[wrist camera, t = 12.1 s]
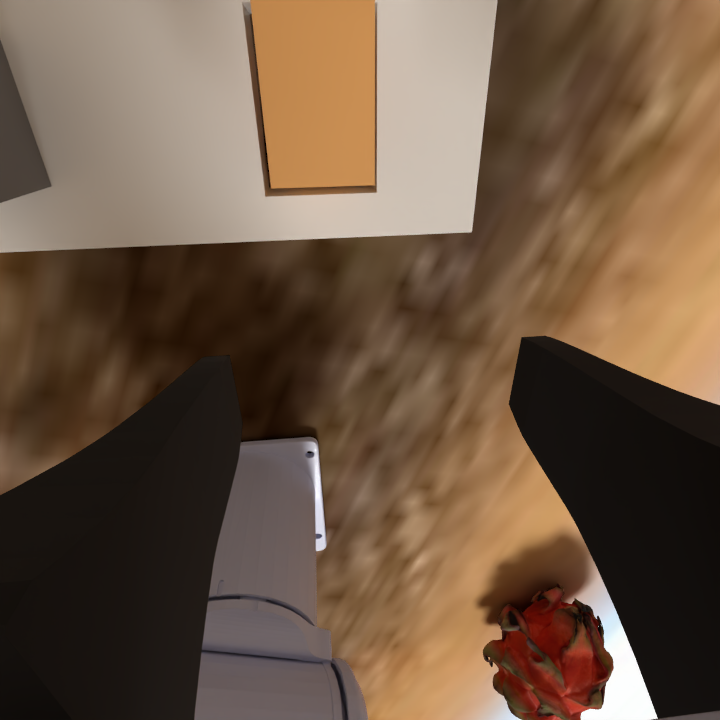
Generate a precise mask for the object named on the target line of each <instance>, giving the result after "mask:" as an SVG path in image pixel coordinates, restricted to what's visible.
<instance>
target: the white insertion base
mask: <svg viewBox="0 0 720 720" xmlns="http://www.w3.org/2000/svg"><path fill="white" fill-rule="evenodd" d="M496 9H497V0H375V185H366V186H335V187H304V188H273V189H271V188H270V187H269V179H268V170H267V161H266V152H265V144H264V135H263V126H262V117H261V109H260V100H259V91H258V82H257V74H256V65H255V56H254V47H253V39H252V30H251V21H250V14H252V12H251V3H250V0H0V252H23V251H46V250H69V249H92V248H115V247H139V246H162V245H185V244H208V243H231V242H254V241H277V240H301V239H324V238H347V237H370V236H393V235H416V234H439V233H462V232H472V226H473V217H474V208H475V198H476V189H477V180H478V171H479V162H480V153H481V144H482V135H483V126H484V117H485V108H486V99H487V90H488V81H489V72H490V63H491V54H492V45H493V36H494V27H495V18H496Z"/></svg>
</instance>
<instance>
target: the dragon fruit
mask: <svg viewBox="0 0 720 720" xmlns="http://www.w3.org/2000/svg"><path fill="white" fill-rule="evenodd" d="M547 590H548V589H547ZM563 594H564V591H563V587H562V586H560V585H558V584H557V586H556V587H555V588H553V589H551V590H550V588H549V591H547V592H546V590H545V592H544V591H539V592H537V594H536V595H534V596H533V598H532V600H531V602H533V604H532V605H531V606H529V607H528V608H527V609H526V610H525V611H524V612H521V611H520V610H519V609H517V610H516V609H515V608H514V607H512V606H511V605H509V604H507V605H506V606H505V607H504V609H503V610H502V612H501V613H500V615H499V617H498V619H499V620H498V623H499V625H500V626H501V630H502V639H501V640H492V641H490V642H489V643H488V644H487V645H486V646H485V647H484V649H483V656H484V660H485V661H487V662H489V663H490V665H491V667H492V666H493V662H494V663H495V664H496V665H497V667H498V668H499V671H498V672H497V673H496V674H495V675H494V677H493V687H494V689H495V690H496V691H497V692H498V693H499V694H501V695H503V696H504V698H505V699H506V701H507V704H508V707H509V709H510V711H511V713H512V714H513V715H515V716H516V717H518V718H519V719H522V720H581V719H580V716H581V713H582V712H583V711H585V710H588V709H601V708H602V705H603V702H604V694H605V686H606V682H607V681H608V680H609V677H610V676H611V673H612V671H613V668H614V667H613V659H612V657H611V655H610V654H609V652H607V651H606V650H605V648H604V637H603V635H604V630H603V626H602V627H601V625H602V623H601V620H600V618H599V616H597V619H596V618H595V617H594V615H593V610H592V609H591V607H590V606H588V605H585V604H583V603H581V602H579V601H578V600H577V599H575V601H573V603H572V604H568V603H565V602H561V598H562V596H563ZM531 602H530V603H531ZM598 626H599V627H598ZM488 657H490V660H489V659H488Z"/></svg>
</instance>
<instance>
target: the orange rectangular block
mask: <svg viewBox="0 0 720 720" xmlns="http://www.w3.org/2000/svg"><path fill="white" fill-rule="evenodd" d="M250 3H251V12H252V21H253V30H254V39H255V48H256V57H257V66H258V75H259V84H260V93H261V102H262V111H263V120H264V129H265V138H266V147H267V156H268V165H269V174H270V183H271V189H273V188H304V187H335V186H366V185H375V0H250Z"/></svg>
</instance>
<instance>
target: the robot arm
mask: <svg viewBox="0 0 720 720" xmlns="http://www.w3.org/2000/svg"><path fill="white" fill-rule="evenodd" d="M509 405H510V408H511V410H512V413H513V415H514V418H515V420H516V423H517V425H518V427H519V429H520V432H521V434H522V436H523V438H524V439H525V441H526V443H527V445H528V446H529V448H530V449H531V451H532V453H533V454H534V456H535V458H536V459H537V461H538V463H539V464H540V466H541V467H542V469H543V471H544V472H545V474H546V475H547V477H548V479H549V480H550V482H551V483H552V485H553V487H554V488H555V490H556V491H557V493H558V495H559V496H560V498H561V499H562V501H563V503H564V504H565V506H566V507H567V509H568V511H569V513H570V514H571V516H572V518H573V520H574V521H575V523H576V525H577V527H578V529H579V531H580V533H581V535H582V537H583V539H584V541H585V543H586V545H587V547H588V550H589V552H590V554H591V556H592V558H593V560H594V562H595V564H596V566H597V569H598V571H599V573H600V575H601V577H602V580H603V582H604V584H605V586H606V589H607V591H608V593H609V595H610V598H611V600H612V602H613V604H614V607H615V609H616V611H617V614H618V616H619V619H620V621H621V624H622V626H623V629H624V631H625V633H626V636H627V638H628V641H629V643H630V646H631V648H632V651H633V653H634V655H635V658H636V661H637V663H638V666H639V669H640V671H641V674H642V677H643V679H644V682H645V685H646V688H647V690H648V693H649V696H650V698H651V701H652V704H653V706H654V709H655V712H656V714H657V717H658V719H653V720H720V405H717V404H714V403H711V402H708V401H705V400H702V399H699V398H696V397H693V396H690V395H687V394H684V393H682V392H679V391H676V390H674V389H671V388H669V387H666V386H664V385H661V384H659V383H656V382H654V381H651V380H649V379H646V378H644V377H641V376H639V375H637V374H634V373H632V372H630V371H627V370H625V369H623V368H620V367H618V366H616V365H614V364H611V363H609V362H607V361H605V360H603V359H600V358H598V357H596V356H594V355H592V354H589V353H587V352H585V351H583V350H580V349H578V348H576V347H574V346H571V345H569V344H567V343H564V342H562V341H559V340H556V339H554V338H551V337H547V336H536V337H522V338H521V344H520V349H519V354H518V359H517V364H516V369H515V374H514V380H513V385H512V390H511V395H510V400H509ZM242 424H243V422H242V417H241V412H240V407H239V402H238V397H237V392H236V386H235V381H234V376H233V371H232V366H231V361H230V356H229V355H226V356H210V357H203V358H201V359H200V360H198V361H197V362H196V363H195V364H194V365H192V366H191V367H190V368H189V369H188V370H186V371H185V372H184V373H183V374H182V375H181V376H180V377H178V378H177V379H176V380H175V381H174V382H173V383H171V384H170V385H169V386H168V387H167V388H165V389H164V390H163V391H162V392H161V393H160V394H158V395H157V396H156V397H155V398H154V399H152V400H151V401H150V402H149V403H147V404H146V405H145V406H143V407H142V408H141V409H139V410H138V411H137V412H136V413H134V414H133V415H132V416H130V417H129V418H128V419H126V420H125V421H124V422H122V423H121V424H120V425H119V426H117V427H116V428H114V429H113V430H112V431H110V432H109V433H107V434H106V435H104V436H103V437H101V438H100V439H98V440H97V441H95V442H94V443H92V444H91V445H89V446H87V447H86V448H84V449H83V450H81V451H80V452H78V453H76V454H75V455H73V456H72V457H70V458H68V459H66V460H65V461H63V462H61V463H59V464H58V465H56V466H54V467H52V468H50V469H49V470H47V471H45V472H43V473H41V474H39V475H38V476H36V477H34V478H32V479H30V480H28V481H27V482H25V483H23V484H21V485H19V486H17V487H16V488H14V489H12V490H10V491H8V492H6V493H4V494H2V495H0V720H368V716H367V710H366V705H365V700H364V697H363V694H362V691H361V688H360V686H359V684H358V682H357V680H356V678H355V675H354V673H353V671H352V669H351V667H350V666H349V665H348V663H347V662H346V661H344V660H342V659H340V658H332V654H331V632H330V631H329V630H326V629H321V628H318V627H317V593H316V551H320V550H323V549H325V548H326V531H325V519H324V508H323V496H322V484H321V473H320V461H319V449H318V442H317V440H316V439H315V438H313V437H301V438H289V439H276V440H263V441H250V442H241V435H242ZM308 451H312V452H313V453H307V452H308Z"/></svg>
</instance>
